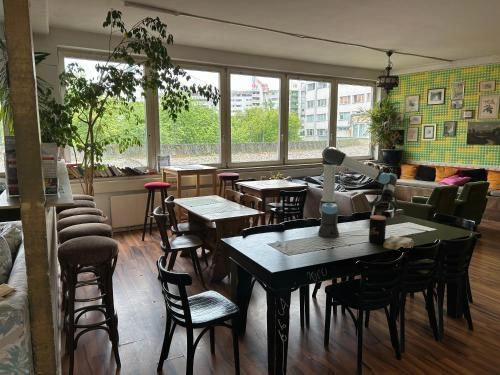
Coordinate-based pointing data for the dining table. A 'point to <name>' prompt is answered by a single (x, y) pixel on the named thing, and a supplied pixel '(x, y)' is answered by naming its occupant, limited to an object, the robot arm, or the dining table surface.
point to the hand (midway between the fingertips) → (382, 215)
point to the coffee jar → (377, 229)
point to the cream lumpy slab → (398, 242)
